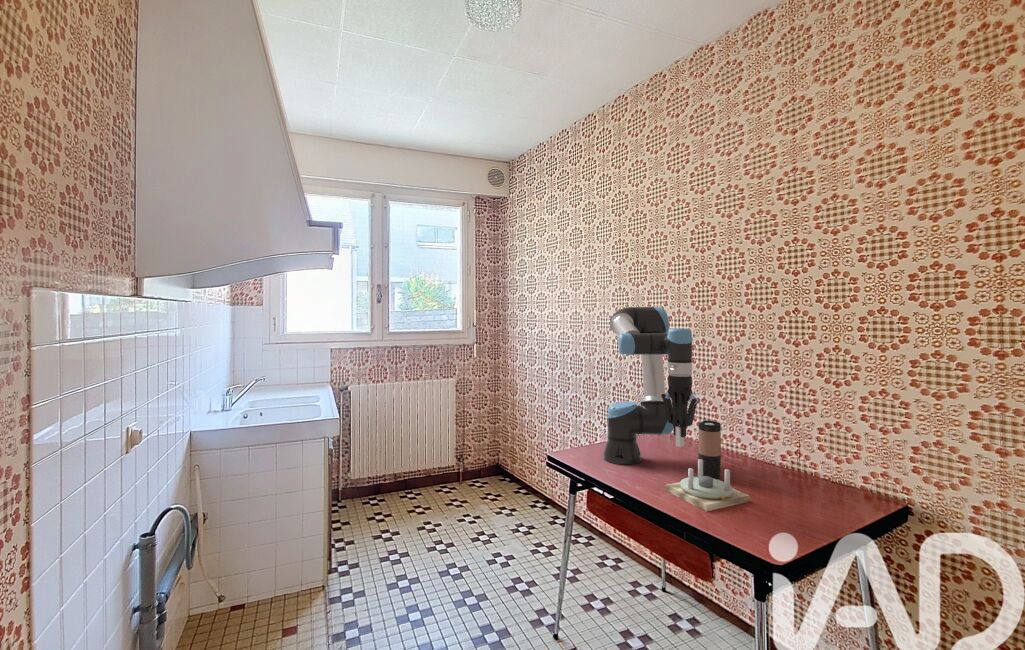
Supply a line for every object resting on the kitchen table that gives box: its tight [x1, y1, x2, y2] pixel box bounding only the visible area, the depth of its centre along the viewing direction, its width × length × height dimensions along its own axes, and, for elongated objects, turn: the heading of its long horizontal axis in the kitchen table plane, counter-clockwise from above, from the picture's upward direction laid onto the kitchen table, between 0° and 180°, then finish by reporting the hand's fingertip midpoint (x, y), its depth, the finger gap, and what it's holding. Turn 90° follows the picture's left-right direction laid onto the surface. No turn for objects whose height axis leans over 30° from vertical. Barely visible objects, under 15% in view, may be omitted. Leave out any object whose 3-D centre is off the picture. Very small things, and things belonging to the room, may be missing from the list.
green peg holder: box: [679, 458, 734, 499], centre depth 151 cm, size 16×16×8 cm
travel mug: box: [697, 420, 722, 480], centre depth 169 cm, size 8×8×20 cm
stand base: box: [665, 481, 750, 513], centre depth 151 cm, size 18×18×3 cm
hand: (679, 445), depth 152 cm, fingers closed
